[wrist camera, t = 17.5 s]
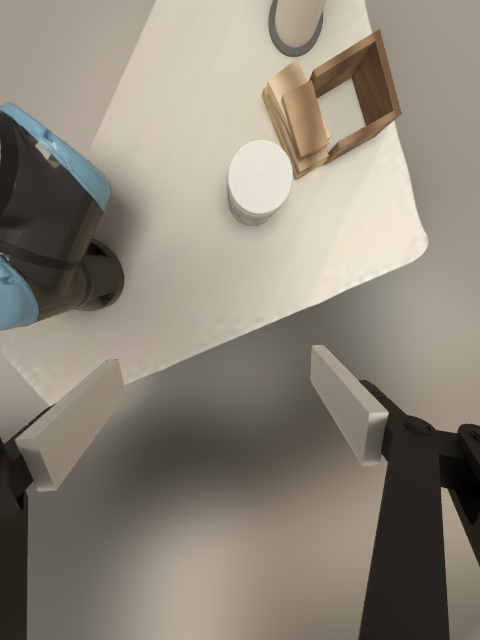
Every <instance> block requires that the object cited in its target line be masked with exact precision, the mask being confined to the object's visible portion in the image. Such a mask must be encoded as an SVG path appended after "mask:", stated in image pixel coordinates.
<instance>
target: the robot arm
mask: <svg viewBox="0 0 480 640" xmlns="http://www.w3.org/2000/svg"><path fill="white" fill-rule="evenodd" d="M110 193H111V186H110V183H109V181H108V179H107V178H106V176H105V175H104V174H103V173H102V172H101V171H100V170H99V169H97V168H96V167H95V166H94V165H93V164H92V163H90V162H89V161H88V160H87V159H86V158H84V157H83V156H82V155H81V154H79V153H78V152H77V151H76V150H75V149H73V148H72V147H71V146H70V145H68V144H67V143H66V142H64V141H63V140H62V139H60V138H59V137H58V136H56V135H54V134H53V133H52V132H51V131H50V130H48V129H47V128H46V127H44V126H43V125H42V124H41V123H40V122H38V121H37V120H36V119H34V118H33V117H32V116H30V115H29V114H28V113H26V112H25V111H23V110H22V109H20V108H19V107H18V106H16V105H14V104H12V103H10V102H6V103H5V104H4V105H3V106H0V330H8V329H12V328H16V327H22V326H28V325H31V324H33V323H35V322H38V321H40V320H43V319H46V318H49V317H52V316H55V315H58V314H60V313H63V312H66V311H69V310H82V311H94V310H99V309H102V308H104V307H107V306H109V305H111V304H112V303H113V302H115V301H116V300H117V298H118V297H119V296H120V294H121V292H122V289H123V284H124V275H123V270H122V267H121V265H120V263H119V261H118V259H117V257H116V256H115V255H114V254H113V252H112V251H111V250H110V249H108V248H107V247H106V246H105V245H103V244H101V243H100V242H97V241H95V240H92V237H93V234H94V232H95V230H96V227H97V225H98V223H99V220H100V218H101V216H102V213H103V214H104V213H105V211H106V210H105V207H106V204H107V201H108V198H109V196H110ZM311 383H312V384H313V386H314V387H315V389H316V391H317V392H318V394H319V396H320V397H321V399H322V400H323V402H324V404H325V405H326V407H327V409H328V410H329V412H330V414H331V415H332V417H333V418H334V420H335V422H336V424H337V425H338V427H339V428H340V430H341V432H342V433H343V435H344V437H345V438H346V440H347V442H348V443H349V445H350V447H351V448H352V450H353V451H354V453H355V455H356V456H357V458H358V459H359V461H360V463H361V465H362V466H368V465H380V460H381V455H383V456H384V457H385V459H386V460H387V461H388V466H387V471H386V477H385V483H384V489H383V495H382V501H381V507H380V513H379V519H378V525H377V530H376V536H375V542H374V548H373V554H372V560H371V566H370V572H369V578H368V583H367V590H366V595H365V601H364V607H363V613H362V619H361V625H360V631H359V636H358V640H449V622H448V605H447V587H446V570H445V555H444V537H443V520H442V503H441V487H444V488H447V489H448V491H449V493H450V496H451V498H452V501H453V503H454V506H455V508H456V510H457V513H458V515H459V518H460V520H461V522H462V525H463V527H464V529H465V532H466V535H467V537H468V539H469V542H470V544H471V547H472V549H473V552H474V554H475V556H476V559H477V561H478V563H479V566H480V426H478V425H474V424H463V425H461V426H460V427H459V429H458V432H457V433H451V432H445V431H439V430H436V429H435V428H433V426H431V424H429V423H427V422H426V421H424V420H422V419H420V418H417V417H414V416H409V415H406V414H405V413H404V412H403V411H402V410H401V409H399V407H397V406H396V405H395V404H394V403H393V402H392V401H391V400H390V399H389V398H387V396H386V395H385V394H383V393H381V391H380V390H379V389H378V388H377V387H376V386H375V385H373V384H371V383H370V382H368V381H366V380H359V381H358V380H357V379H356V378H355V377H354V376H353V375H352V374H351V373H350V372H349V371H348V370H347V369H346V368H345V367H344V366H343V365H342V364H341V363H340V362H339V361H338V360H337V359H336V358H335V357H334V356H333V355H332V354H331V353H330V352H329V351H328V349H326V347H324V346H323V345H317V346H312V359H311ZM125 396H126V390H125V387H124V382H123V378H122V374H121V370H120V366H119V362H118V359H114V360H106V361H105V362H104V363H102V364H101V365H100V366H99V367H98V368H97V369H96V370H94V371H93V372H92V373H91V374H90V375H89V376H87V377H86V378H85V379H84V380H83V381H82V382H81V383H79V384H78V385H77V386H76V387H75V388H74V389H73V390H71V391H70V392H69V393H68V394H67V395H66V396H64V397H63V398H62V399H61V400H60V401H59V402H58V403H55V404H54V405H52V406H50V407H49V408H47V409H45V410H44V411H43V412H42V413H40V414H39V415H38V416H37V417H36V419H33V420H32V421H31V422H30V423H29V424H28V425H27V426H25V427H24V428H23V429H22V430H20V431H19V432H18V433H17V434H16V435H14V436H13V437H12V438H11V439H10V440H9V441H7V442H6V443H5V444H3V442H2V440H1V438H0V640H27V556H28V555H27V554H28V495H27V493H26V491H25V490H26V489H27V488H28V486H29V485H30V484H31V483H32V482H34V485H35V487H36V489H37V491H38V492H41V491H54V490H57V488H58V487H59V486H60V484H61V483H62V482H63V480H64V479H65V478H66V476H67V475H68V473H69V472H70V471H71V469H72V468H73V466H74V465H75V464H76V462H77V461H78V460H79V458H80V457H81V456H82V454H83V453H84V451H85V450H86V449H87V447H88V446H89V445H90V443H91V442H92V441H93V439H94V438H95V437H96V435H97V434H98V433H99V431H100V430H101V428H102V427H103V426H104V424H105V423H106V422H107V420H108V419H109V417H110V416H111V415H112V413H113V412H114V411H115V409H116V408H117V407H118V405H119V404H120V403H121V401H122V400H123V398H124V397H125Z"/></svg>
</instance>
